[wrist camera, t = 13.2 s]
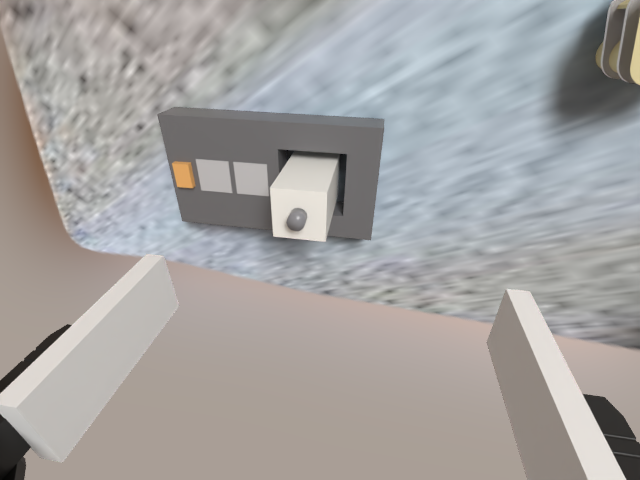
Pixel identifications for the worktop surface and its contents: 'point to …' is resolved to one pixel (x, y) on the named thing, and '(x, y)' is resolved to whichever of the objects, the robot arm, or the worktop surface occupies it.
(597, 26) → the worktop surface
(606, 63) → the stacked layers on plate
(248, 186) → the power strip
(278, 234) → the block
